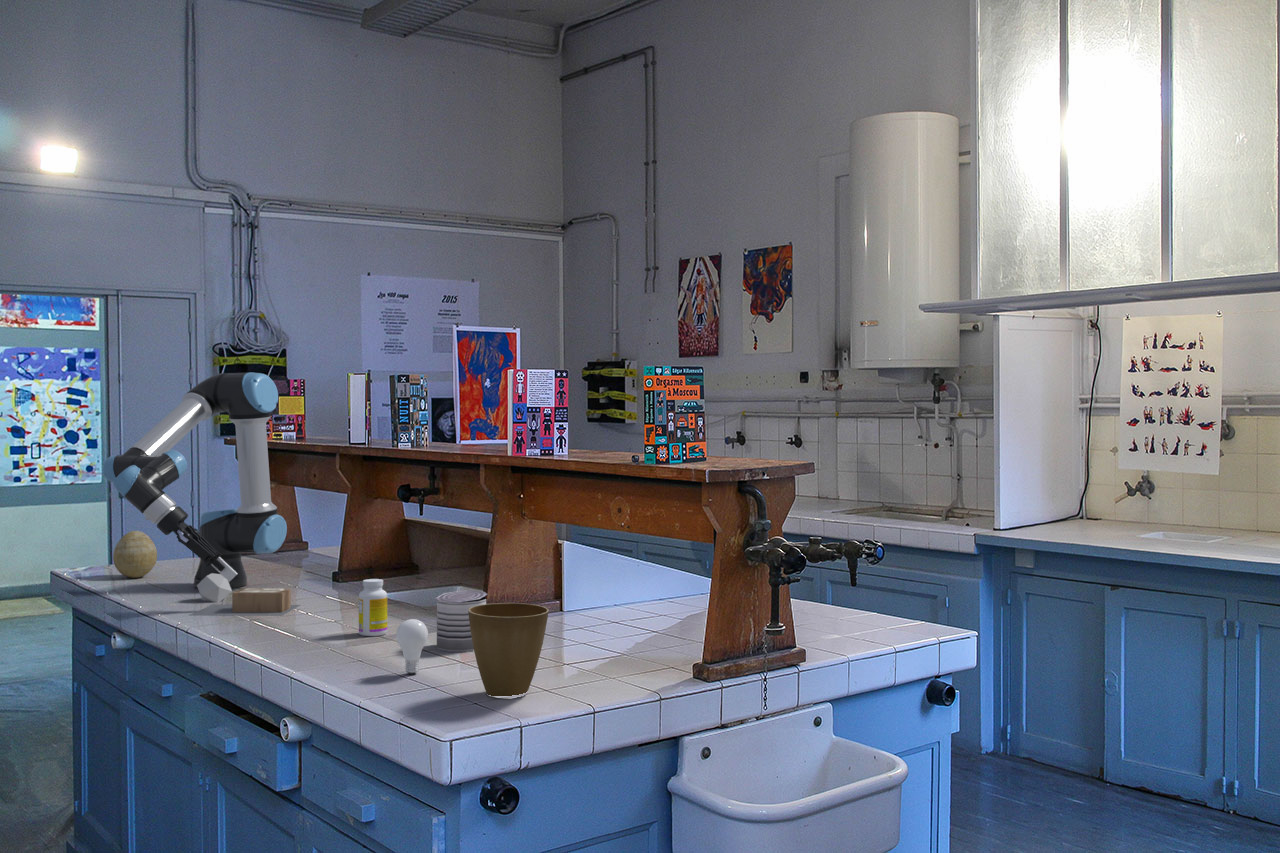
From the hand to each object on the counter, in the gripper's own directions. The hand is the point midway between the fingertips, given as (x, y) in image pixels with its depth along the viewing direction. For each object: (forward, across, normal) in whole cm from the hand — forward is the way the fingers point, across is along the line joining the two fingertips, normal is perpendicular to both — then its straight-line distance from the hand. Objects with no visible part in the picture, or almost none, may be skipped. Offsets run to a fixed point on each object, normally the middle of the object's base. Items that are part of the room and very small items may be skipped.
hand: (233, 577), depth 285 cm
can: (+48, +54, +35) cm, 80 cm away
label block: (+5, 0, -4) cm, 6 cm away
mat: (+9, +1, -4) cm, 10 cm away
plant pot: (+53, +97, +40) cm, 118 cm away
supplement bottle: (+33, +36, +20) cm, 53 cm away
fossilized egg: (-23, -68, -36) cm, 80 cm away
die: (+1, -16, -12) cm, 21 cm away
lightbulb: (+40, +78, +28) cm, 92 cm away
